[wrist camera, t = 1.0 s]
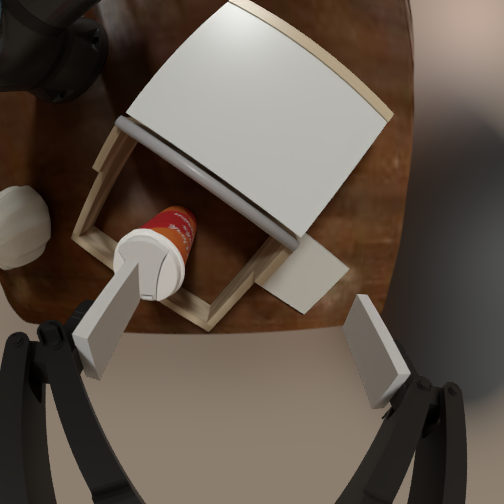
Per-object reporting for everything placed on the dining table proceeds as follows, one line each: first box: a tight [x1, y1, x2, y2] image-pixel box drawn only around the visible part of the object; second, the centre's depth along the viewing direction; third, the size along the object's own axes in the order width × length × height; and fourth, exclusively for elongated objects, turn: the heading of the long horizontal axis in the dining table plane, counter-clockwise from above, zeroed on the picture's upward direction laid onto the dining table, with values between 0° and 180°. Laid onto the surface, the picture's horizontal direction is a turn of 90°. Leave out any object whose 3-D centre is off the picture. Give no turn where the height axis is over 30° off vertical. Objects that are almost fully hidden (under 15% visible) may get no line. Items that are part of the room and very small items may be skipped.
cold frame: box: [71, 117, 297, 332], centre depth 37 cm, size 26×20×8 cm
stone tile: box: [255, 232, 349, 314], centre depth 44 cm, size 11×11×1 cm
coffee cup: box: [113, 206, 197, 301], centre depth 34 cm, size 8×8×15 cm
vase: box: [0, 185, 51, 270], centre depth 34 cm, size 14×14×13 cm
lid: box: [115, 0, 394, 252], centre depth 28 cm, size 26×22×5 cm
